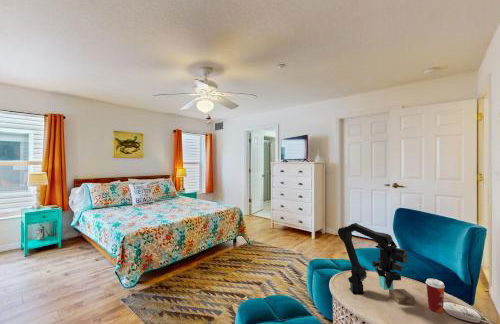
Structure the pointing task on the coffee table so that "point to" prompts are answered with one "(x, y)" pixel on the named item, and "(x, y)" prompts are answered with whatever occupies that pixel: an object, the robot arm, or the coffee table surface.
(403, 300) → the walnut block
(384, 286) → the teal cube
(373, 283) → the coffee table surface
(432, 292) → the coffee cup
